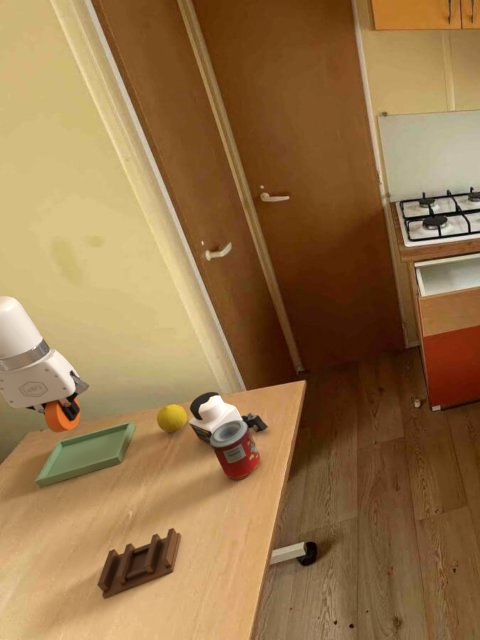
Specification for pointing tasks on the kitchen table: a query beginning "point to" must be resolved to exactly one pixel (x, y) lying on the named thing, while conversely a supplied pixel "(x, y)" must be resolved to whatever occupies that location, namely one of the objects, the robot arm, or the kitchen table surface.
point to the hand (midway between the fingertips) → (66, 417)
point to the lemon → (171, 418)
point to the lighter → (254, 422)
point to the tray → (86, 453)
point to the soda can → (235, 449)
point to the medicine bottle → (211, 415)
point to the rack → (139, 564)
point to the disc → (59, 417)
